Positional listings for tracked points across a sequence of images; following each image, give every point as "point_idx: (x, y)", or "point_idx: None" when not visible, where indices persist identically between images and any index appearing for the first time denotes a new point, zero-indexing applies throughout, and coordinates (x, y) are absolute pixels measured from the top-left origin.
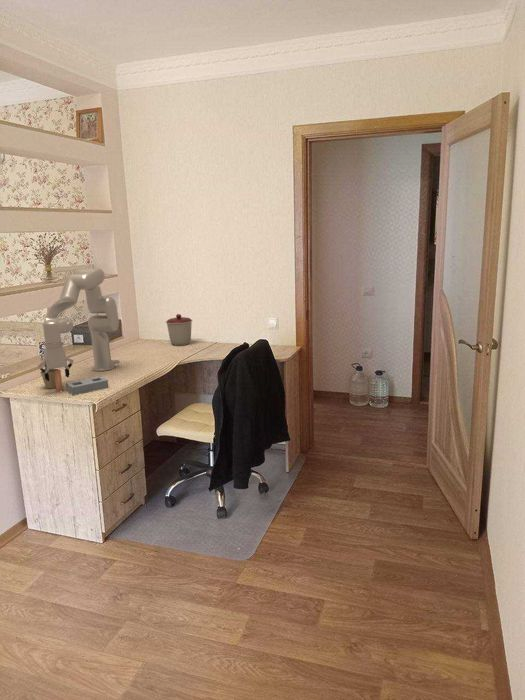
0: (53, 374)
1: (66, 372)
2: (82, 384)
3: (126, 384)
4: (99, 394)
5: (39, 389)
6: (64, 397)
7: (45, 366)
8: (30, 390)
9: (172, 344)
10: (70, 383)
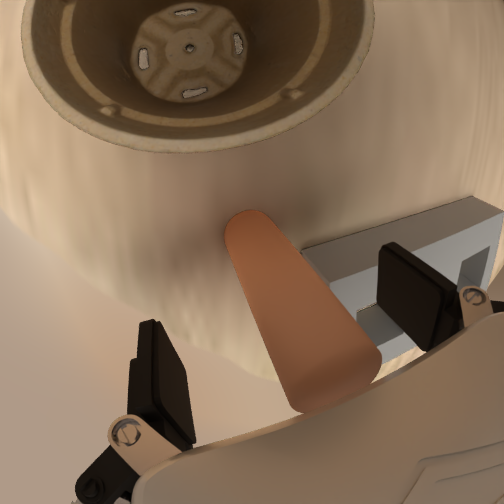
0: (251, 122)
1: (409, 323)
2: (394, 347)
3: (495, 267)
4: (396, 362)
5: None
6: (261, 372)
7: (142, 483)
8: (11, 98)
9: None
10: (353, 304)
